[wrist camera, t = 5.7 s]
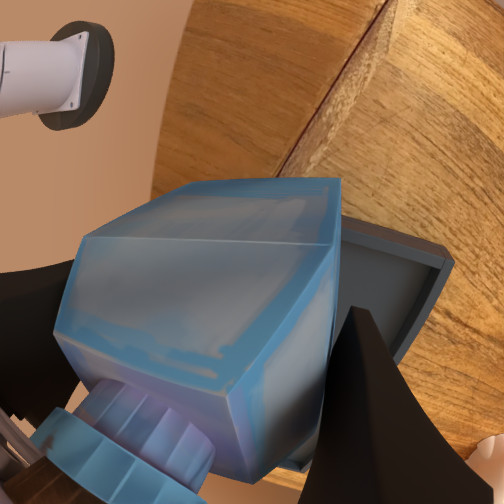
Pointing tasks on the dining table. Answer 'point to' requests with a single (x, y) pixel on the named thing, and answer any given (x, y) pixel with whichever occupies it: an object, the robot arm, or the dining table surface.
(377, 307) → the tray
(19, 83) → the robot arm
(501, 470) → the figurine
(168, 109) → the dining table surface
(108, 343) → the perfume bottle
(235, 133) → the dining table surface
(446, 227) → the dining table surface
